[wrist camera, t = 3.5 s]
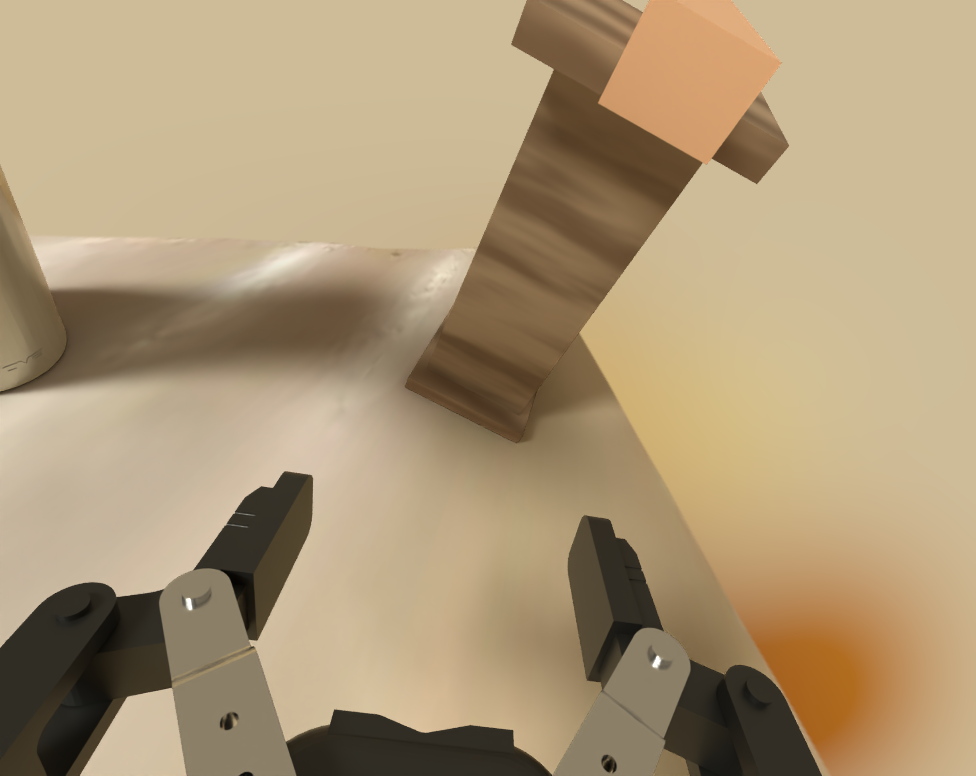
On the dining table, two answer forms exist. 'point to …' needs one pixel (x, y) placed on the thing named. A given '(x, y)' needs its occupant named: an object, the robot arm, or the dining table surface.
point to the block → (690, 73)
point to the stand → (565, 218)
